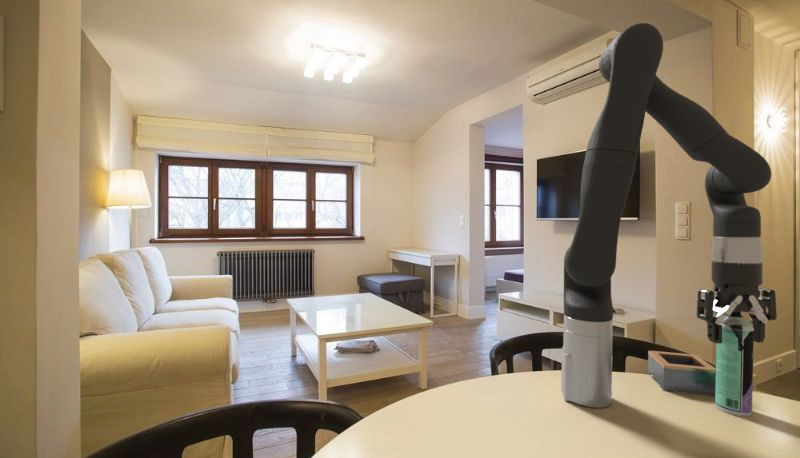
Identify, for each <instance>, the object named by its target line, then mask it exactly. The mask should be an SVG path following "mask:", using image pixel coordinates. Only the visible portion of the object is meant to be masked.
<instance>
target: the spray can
mask: <svg viewBox="0 0 800 458" xmlns="http://www.w3.org/2000/svg"><path fill="white" fill-rule="evenodd" d="M720 325H722V343H718V344H717V343H715V344H716V347H715V349H716V350H715V351H716V352H715V353H716V355H715V369H716V393H715V396H714V398H715V399H714V400H715V404H714V405H715V407H716V408H717V409H718V410H720V411H721V412H723V413H726V414H729V415H732V416H737V417H741V418H742V417H749V418H750V417H751V416H752V415H753V414H752V413H753V389H754V388H753V384H754V383H753V382H754V381H753V380H754V344H755V343H754V342H755V341H754V328H753V327H752V326H753V323H751V322H749V320H747V319H746V317H745V316H743V314H742V311H740V312H732V313H731V314H730V315H729V316H727V317H725V319H724V320H723V322H722V323H721V324H720Z"/></svg>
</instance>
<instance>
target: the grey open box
mask: <svg viewBox="0 0 800 458" xmlns="http://www.w3.org/2000/svg"><path fill="white" fill-rule="evenodd" d="M647 354H648V355H647V356H648V357H647V360H648V361H647V374H648V375H649V376H650V375H653V376H652V377H653V378H654V379H653V378H652V377H651V378H652V379H653V381H654V382H655V381H656V382H657V383H658V384H659V385H660V386H659V385H658V384H657V383H656V382H655V383H656V384H657V385H658V386H659V388H661V390H662V391H665V390H668V391H667V392H673V391H677V392H676V393H682V392H683V394H684V393H685V394H693V395H700V396H701V395H702V396H709V397H715V393H716V367H715V366H713V365H711V364H710V363H708V362H707V361H706V360H705V359H703V358H701V356H700V355H697V354H691V353H690V354H689V353H679V352H669V351H668V352H667V351H658V350H648V351H647Z"/></svg>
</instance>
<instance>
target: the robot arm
mask: <svg viewBox="0 0 800 458" xmlns="http://www.w3.org/2000/svg"><path fill="white" fill-rule="evenodd" d="M663 52H664V40H663V36H662V34H661V33H660V31H659V29H658V28H657V27H656V26H654V25H653V24H650V23H646V22H640V23H636V24H632V25H630V26H628V27H626V28H625V29H624V30H622V31H621V32H620V33H619V34H617V35H616V36H615V37H614V39H613V40H612V41H611V42H610V43H609V44H608V45H607V47H606V48H605V49H604V50H603V52H602V53H601V56H600V57H599V60H598V61H599V63H598V69H599V72H600V74H601V76H602V77H603V78H604V79H605V80H606V81H607V82H608V83H609V85H608V90H607V95H606V98H605V101H604V105H603V108H602V110H601V112H600V114H599V116H598V119H597V120H596V123H595V125H594V127H593V129H592V132H591V134H590V137H589V140H588V143H587V147H586V151H585V157H584V161H583V166H582V173H581V181H580V201H579V202H580V203H579V204H580V205H579V207H580V208H579V217H578V222H577V225H576V229H575V231H574V236H573V238H572V241H571V243H570V244H571V245H570V246H569V247H568V248H567V250H566V252H565V254H564V258H563V259H564V260H563V342H562V344H563V346H561V377H560V378H561V382H560V383H561V385H560V388H561V392H562V395H563V398H564V401H565V402H567V401H568V402H571V403H574V404H577V405H580V406H583V407H589V408H599V409H600V408H607V407H608V406H610V405H611V404H612V395H613V390H612V389H613V388H612V387H613V386H612V385H613V327H614V325H613V320H614V319H613V317H614V316H613V315H614V308H613V299H612V298H613V297H612V277H613V275H614V273H615V270H616V265H617V250H618V242H619V241H618V239H619V230H620V223H621V218H622V215H623V213H624V212H623V211H624V209H625V206H626V203H627V200H628V197H629V192H630V188H631V186H632V181H633V178H634V174H635V169H636V164H637V160H638V155H639V148H640V142H641V137H642V131H643V127H644V123H645V117H646V113H647V114H648V115H649V116H650V117H651V118H653V120H655V121H656V123H658V124H659V125H660V126H661V127H662V128H663V129H664V130H665V131H666V132H667V133H668V135H669V136H670V137H671V138H672V139H673V140H674V141H675V143H677V145H678V146H679V147H681V149H682V150H683V151H684V153H686V155H688V156H689V157H690V158H691V159H692V160H693V161H696V162H701V163H702V162H704V163H708V164H710V165H711V166H710V167H709V169H707V172H706V175H705V178H704V188H705V194H706V197H707V201H708V203H709V208H710V211H711V212H712V215H713V221H712V223H713V227H712V231H713V232H712V233H713V237H712V244H711V281H712V283H714V288H713V289H711V290H708V289H705V288H699V289H698V291H697V301H696V303H697V304H696V318H697V319H700V320H703V321H705V322H706V325H707V326H706V327H707V331H706V332H707V335H706V336H707V339H708V340H709V341H710V342H712V343H715V344H718V343H722V325H720V324H721V323H722V322H723V320H724V319H725V317H727V316H729V315H730V314H731V313H732V312H740V311H741V313H742V312H743V313H745V314H746V315H747V317H748V318H749V320H751V321H749V320H748V321H749V322H751V323H753V326H752V327H753V328H754V342H755V343H759V344H760V343H764V341H765V339H766V324H767V323H768V322H769V321H775V320H777V300H776V298H777V297H776V291H775V290H774V289H770V288H763V287H760V286H762V284H763V280H764V279H763V276H764V274H763V271H764V270H763V269H764V268H763V267H764V265H763V264H764V263H763V257H764V256H763V255H764V254H763V253H764V252H763V251H764V250H763V245H762V218H761V212H760V210H759V209H758V208H756V207H755V206H754V207H753V206H749V205H748V204H747V202H746V199H745V198H746V197H745V194H749V193H750V194H751V193H754V192H759V191H761V190H763V189H765V188H766V187H767V186H768V185H769V184H770V181H771V179H772V169H771V167H770V164H769V162H768V161H767V160H766V159H765V157H764V156H763V155H762V154H760V153H759V152H757V150H754V149H753V148H752V147H750V146H748V145H747V144H745V143H744V142H742V141H741V140H739V139H738V138H736V137H734V136H732V135H730V134H729V133H728V132H727V130H726V129H725V128H724V127H723V125H721V123H719V121H718V120H717V119H716V118H715V117H714V116H713V115H712V114H711V113H710V112H709V111H708V110H707V109H705V108H704V107H703V106H702V105H700V104H699V103H697V102H695V101H694V100H693V99H690V98H688V97H686V96H684V95H683V94H682V93H681V94H680V93H679V92H678V91H676V90H674V89H673V88H671V87H670V86H668V85H667V84H666V83H664V82H663V80H661V78H659V77H658V75H657V72H658V70H659V67H660V64H661V61H662V56H663Z"/></svg>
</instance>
